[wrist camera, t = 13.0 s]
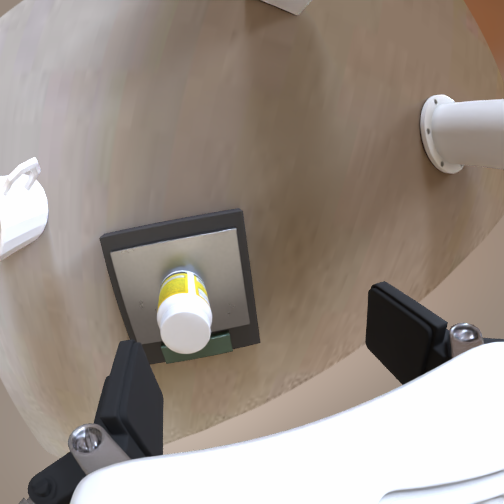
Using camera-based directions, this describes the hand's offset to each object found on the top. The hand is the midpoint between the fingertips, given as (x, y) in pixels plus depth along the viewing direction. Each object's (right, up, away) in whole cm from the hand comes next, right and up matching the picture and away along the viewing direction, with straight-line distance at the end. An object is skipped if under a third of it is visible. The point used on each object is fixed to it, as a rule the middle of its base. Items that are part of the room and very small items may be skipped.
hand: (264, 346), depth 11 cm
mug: (-25, +10, +15) cm, 31 cm away
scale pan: (-8, 0, +19) cm, 21 cm away
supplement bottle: (-8, 0, +19) cm, 20 cm away
